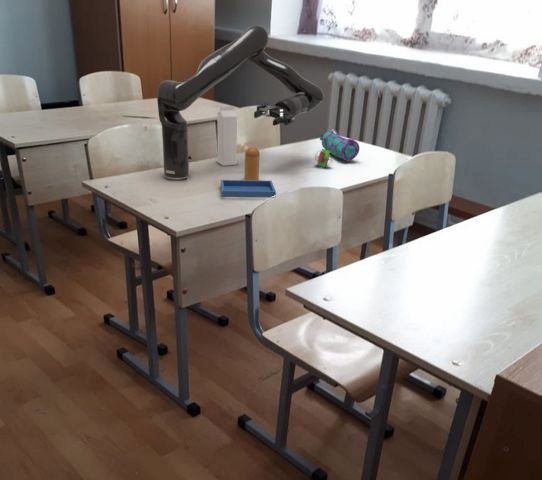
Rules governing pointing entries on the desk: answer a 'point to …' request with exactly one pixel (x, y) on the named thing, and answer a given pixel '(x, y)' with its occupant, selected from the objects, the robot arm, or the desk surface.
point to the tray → (247, 188)
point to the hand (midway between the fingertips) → (264, 118)
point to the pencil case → (340, 145)
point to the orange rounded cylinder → (252, 164)
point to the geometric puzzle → (322, 157)
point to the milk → (226, 136)
